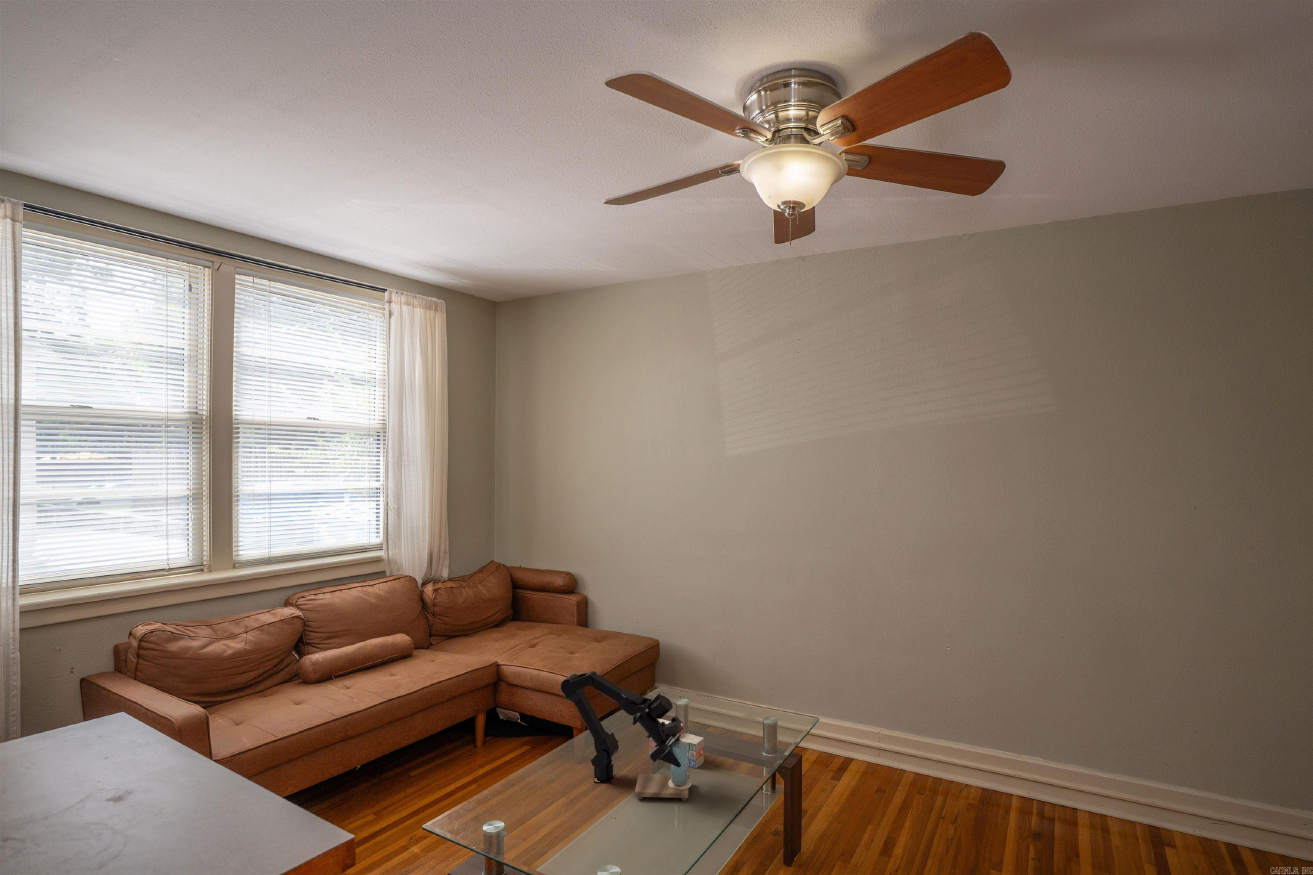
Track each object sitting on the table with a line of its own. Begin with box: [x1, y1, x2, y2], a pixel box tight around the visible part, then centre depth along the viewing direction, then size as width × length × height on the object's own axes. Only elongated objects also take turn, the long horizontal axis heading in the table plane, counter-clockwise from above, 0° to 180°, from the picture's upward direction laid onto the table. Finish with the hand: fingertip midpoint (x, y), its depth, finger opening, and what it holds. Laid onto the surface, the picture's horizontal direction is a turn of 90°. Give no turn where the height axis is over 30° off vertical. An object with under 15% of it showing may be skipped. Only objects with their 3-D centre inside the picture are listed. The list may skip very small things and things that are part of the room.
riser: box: [634, 773, 692, 802], centre depth 241 cm, size 19×12×3 cm, turn 85°
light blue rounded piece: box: [670, 742, 688, 785], centre depth 240 cm, size 6×6×12 cm
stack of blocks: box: [647, 718, 705, 769], centre depth 265 cm, size 21×6×12 cm, turn 56°
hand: (682, 762), depth 240 cm, fingers closed on light blue rounded piece, 5 cm apart
